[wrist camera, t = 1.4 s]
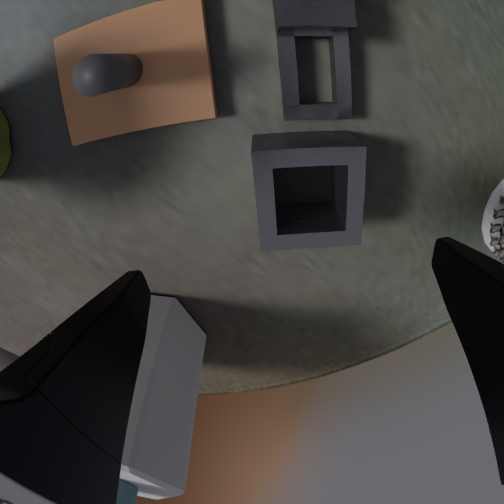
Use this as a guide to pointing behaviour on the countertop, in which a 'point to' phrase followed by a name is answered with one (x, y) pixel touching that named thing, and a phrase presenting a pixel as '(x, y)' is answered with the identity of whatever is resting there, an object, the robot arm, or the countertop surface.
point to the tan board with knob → (136, 71)
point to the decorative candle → (494, 222)
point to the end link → (310, 214)
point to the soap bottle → (162, 405)
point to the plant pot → (4, 143)
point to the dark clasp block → (336, 29)
